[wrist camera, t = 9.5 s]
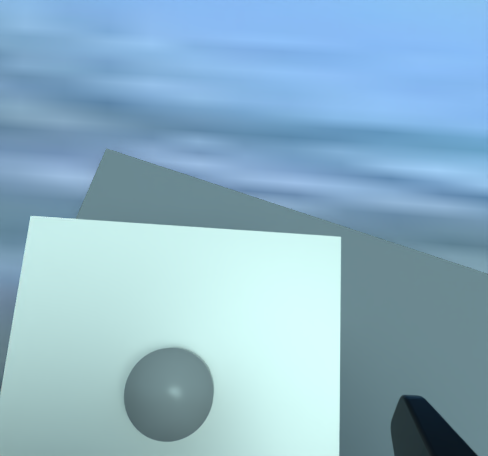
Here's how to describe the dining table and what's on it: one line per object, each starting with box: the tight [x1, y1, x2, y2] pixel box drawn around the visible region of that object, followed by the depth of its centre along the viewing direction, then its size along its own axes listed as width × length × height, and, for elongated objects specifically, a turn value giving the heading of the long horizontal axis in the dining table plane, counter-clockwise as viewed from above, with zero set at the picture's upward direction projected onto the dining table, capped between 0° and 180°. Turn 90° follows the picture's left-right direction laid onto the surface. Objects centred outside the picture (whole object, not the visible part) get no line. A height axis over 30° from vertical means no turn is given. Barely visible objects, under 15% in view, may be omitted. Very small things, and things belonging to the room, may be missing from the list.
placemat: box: [76, 149, 488, 456], centre depth 19 cm, size 22×14×1 cm, turn 72°
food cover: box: [0, 216, 341, 456], centre depth 13 cm, size 7×7×10 cm
